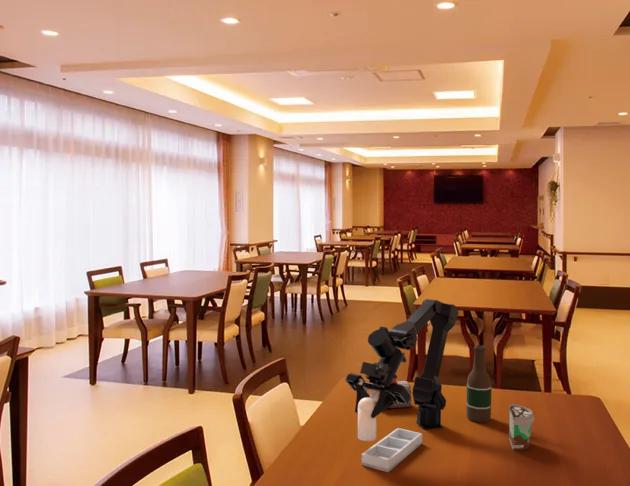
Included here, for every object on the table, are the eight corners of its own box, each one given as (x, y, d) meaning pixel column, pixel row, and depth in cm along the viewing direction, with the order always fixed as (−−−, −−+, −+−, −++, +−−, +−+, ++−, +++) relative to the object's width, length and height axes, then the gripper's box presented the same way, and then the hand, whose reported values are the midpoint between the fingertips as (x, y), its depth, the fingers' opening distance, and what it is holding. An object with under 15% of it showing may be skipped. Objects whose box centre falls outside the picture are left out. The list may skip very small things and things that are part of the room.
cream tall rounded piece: (370, 432, 162) (370, 393, 161) (379, 439, 157) (379, 399, 156) (354, 435, 160) (354, 396, 159) (363, 442, 155) (363, 401, 154)
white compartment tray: (397, 437, 173) (397, 427, 173) (422, 443, 169) (422, 433, 169) (361, 465, 155) (361, 454, 155) (388, 472, 150) (388, 461, 150)
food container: (537, 454, 162) (538, 419, 161) (513, 452, 163) (514, 417, 162) (529, 437, 174) (530, 404, 173) (508, 435, 175) (509, 403, 174)
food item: (374, 411, 196) (375, 382, 196) (368, 403, 204) (368, 375, 203) (413, 408, 199) (413, 380, 198) (405, 401, 207) (405, 373, 206)
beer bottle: (464, 420, 187) (465, 347, 186) (467, 413, 194) (469, 342, 193) (489, 424, 184) (491, 349, 183) (491, 416, 192) (493, 344, 190)
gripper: (349, 345, 166) (324, 392, 159) (404, 356, 154) (380, 407, 146) (365, 366, 172) (342, 412, 165) (420, 378, 160) (397, 429, 153)
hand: (364, 415), depth 157 cm, fingers closed on cream tall rounded piece, 5 cm apart
